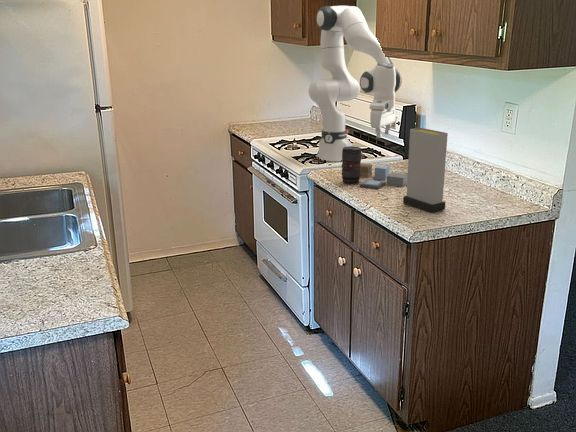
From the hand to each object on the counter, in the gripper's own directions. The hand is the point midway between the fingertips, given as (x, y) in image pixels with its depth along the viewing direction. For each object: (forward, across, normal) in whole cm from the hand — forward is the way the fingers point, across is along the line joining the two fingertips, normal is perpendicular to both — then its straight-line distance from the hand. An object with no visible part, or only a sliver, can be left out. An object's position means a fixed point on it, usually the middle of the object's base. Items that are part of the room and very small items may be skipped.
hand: (383, 136), depth 253 cm
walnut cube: (+18, -1, -8) cm, 20 cm away
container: (+20, +30, +28) cm, 46 cm away
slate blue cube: (+19, -1, 0) cm, 19 cm away
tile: (+19, +13, +1) cm, 23 cm away
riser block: (+19, +5, +9) cm, 21 cm away
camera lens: (+19, +12, -9) cm, 24 cm away
